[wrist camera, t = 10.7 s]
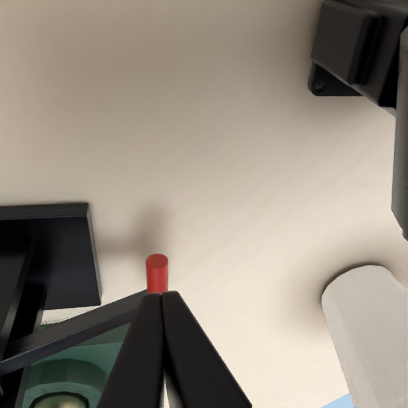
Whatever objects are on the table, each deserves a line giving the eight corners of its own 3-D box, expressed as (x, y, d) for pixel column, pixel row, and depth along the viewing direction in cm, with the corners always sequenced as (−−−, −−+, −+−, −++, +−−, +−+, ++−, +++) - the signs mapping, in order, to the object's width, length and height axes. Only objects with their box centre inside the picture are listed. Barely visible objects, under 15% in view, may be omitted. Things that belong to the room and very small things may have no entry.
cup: (362, 332, 36) (458, 496, 25) (275, 317, 32) (346, 502, 22) (436, 258, 31) (592, 424, 21) (344, 231, 27) (476, 415, 17)
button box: (138, 316, 29) (140, 363, 26) (142, 378, 34) (144, 424, 31) (-29, 331, 27) (-49, 384, 24) (3, 395, 33) (-11, 446, 29)
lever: (157, 244, 21) (177, 271, 20) (158, 312, 25) (175, 340, 23) (-99, 329, 16) (-102, 376, 14) (-52, 401, 19) (-50, 445, 18)
